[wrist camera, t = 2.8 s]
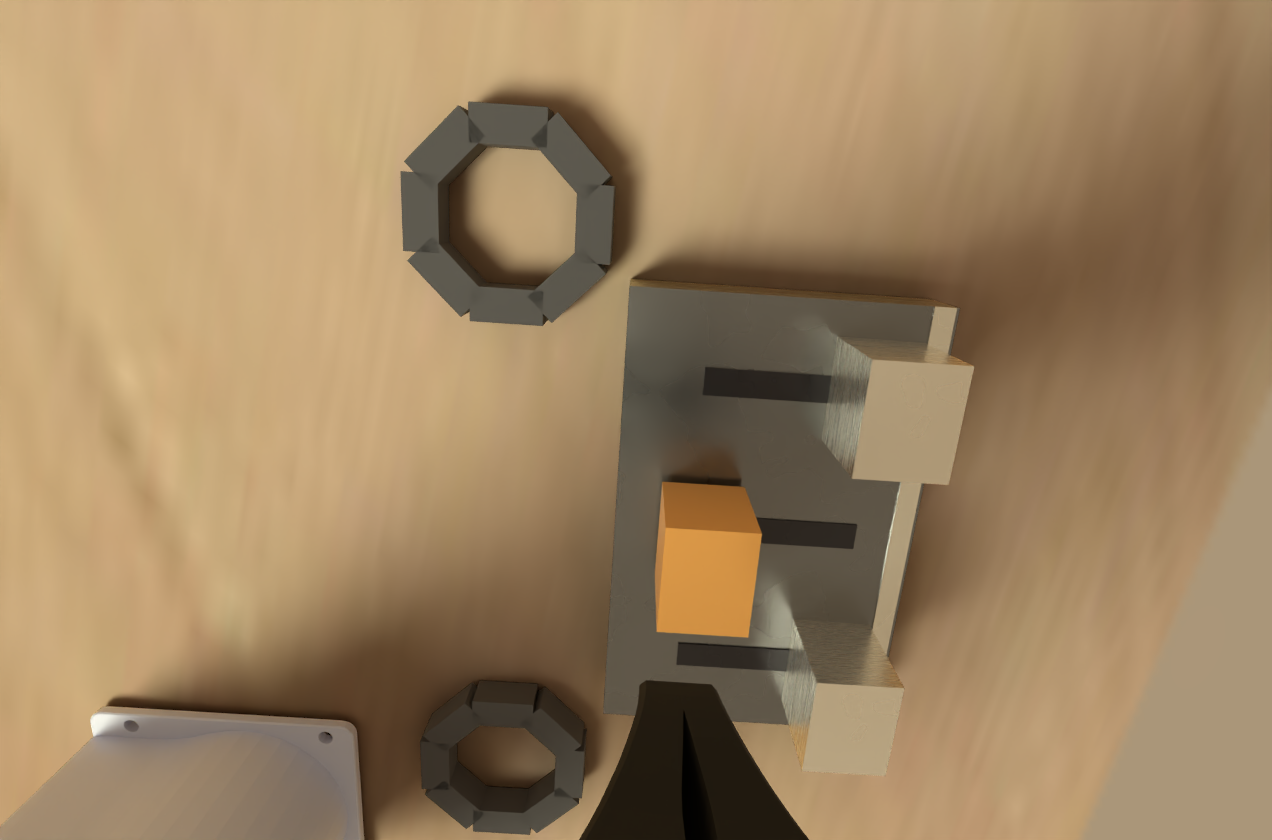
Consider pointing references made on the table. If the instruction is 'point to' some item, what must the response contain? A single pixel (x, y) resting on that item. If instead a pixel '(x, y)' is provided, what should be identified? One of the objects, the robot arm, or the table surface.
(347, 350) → the table surface
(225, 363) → the table surface
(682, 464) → the breaker strip
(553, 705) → the coil
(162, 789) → the robot arm
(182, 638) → the table surface
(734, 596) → the orange breaker switch
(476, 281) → the coil
